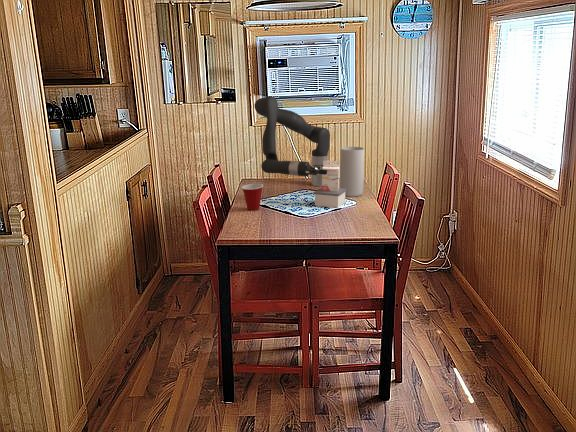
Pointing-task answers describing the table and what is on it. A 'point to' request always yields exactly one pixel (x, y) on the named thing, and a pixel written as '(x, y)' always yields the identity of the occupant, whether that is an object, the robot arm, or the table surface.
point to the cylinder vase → (352, 170)
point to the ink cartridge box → (330, 176)
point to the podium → (330, 198)
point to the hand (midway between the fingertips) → (329, 170)
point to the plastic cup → (252, 195)
